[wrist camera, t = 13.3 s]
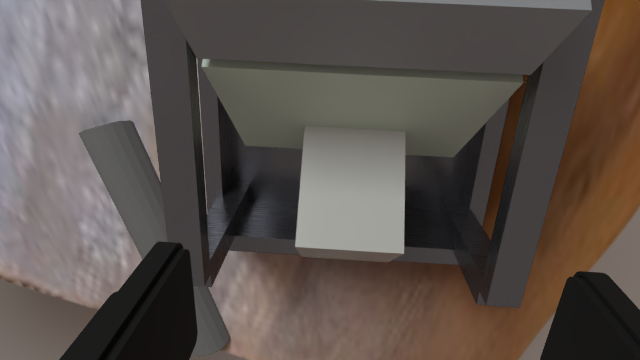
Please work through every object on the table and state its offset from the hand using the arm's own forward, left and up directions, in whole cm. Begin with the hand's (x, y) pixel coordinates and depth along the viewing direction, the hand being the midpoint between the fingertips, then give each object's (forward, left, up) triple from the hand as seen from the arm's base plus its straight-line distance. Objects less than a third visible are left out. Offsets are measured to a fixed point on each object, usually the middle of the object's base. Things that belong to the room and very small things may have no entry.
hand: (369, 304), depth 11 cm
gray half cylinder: (+14, +10, -19) cm, 25 cm away
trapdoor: (0, -5, -11) cm, 12 cm away
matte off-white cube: (0, 0, -14) cm, 14 cm away
